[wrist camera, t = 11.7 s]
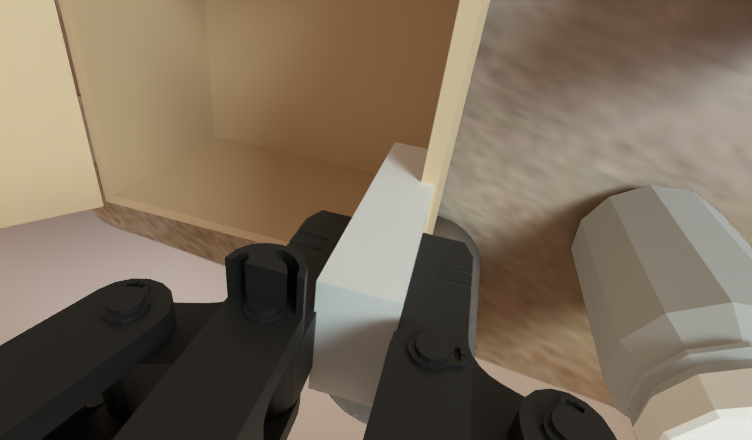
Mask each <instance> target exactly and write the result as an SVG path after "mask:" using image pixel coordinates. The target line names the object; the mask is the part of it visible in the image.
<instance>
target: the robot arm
mask: <svg viewBox="0 0 752 440" xmlns="http://www.w3.org/2000/svg"><path fill="white" fill-rule="evenodd" d="M427 152H428V149H425V148H420V147H416V146H411V145H406V144H402V143H397V142H395V143H394V145H393V146H392V148H391V150H390V152H389V153H388V155H387V157H386V159H385V160H384V162H383V164H382V166H381V168H380V169H379V171H378V173H377V175H376V176H375V178H374V180H373V182H372V183H371V185H370V187H369V189H368V191H367V192H366V194H365V196H364V198H363V199H362V201H361V203H360V205H359V206H358V208H357V210H356V212H355V213H354V215H353V217H350V216H345V215H341V214H337V213H333V212H329V211H325V210H321V211H320V212H318V213H316V214H314V215H312V216H310V217H308V218H306V220H305V221H304V222H303V224H302V225H301V226H300V228H299V229H298V230H297V233H295V234H294V236H293V237H292V238H291V240H290V241H289V244H287V245H286V246H284V245H280V244H272V243H260V244H250V245H248V246H245V247H242V248H239V249H236V250H235V251H233V252H232V253H231V254H229V255H228V256H227V257H225V265H226V278H227V291H228V298H227V299H226V300H225V301H224V302H218V303H174V302H173V298H172V293H171V290H169V289H168V288H167V287H166V286H165V285H164V284H163V283H160V282H157V281H154V280H151V279H129V280H124V281H119V282H114V283H112V284H110V285H108V286H105V287H103V288H101V289H98V290H97V291H95V292H93V293H91V294H90V295H88V296H86V297H84V298H83V299H81V300H79V301H77V302H76V303H74V304H72V305H70V306H69V307H67V308H65V309H63V310H62V311H60V312H58V313H56V314H55V315H53V316H51V317H49V318H48V319H46V320H44V321H43V322H41V323H39V324H37V325H36V326H34V327H32V328H30V329H28V330H27V331H25V332H23V333H21V334H20V335H18V336H16V337H15V338H13V339H11V340H9V341H7V342H6V343H4V344H2V345H1V346H0V440H287V437H288V435H289V433H290V430H291V428H292V426H293V424H294V421H295V419H296V417H297V414H298V409H299V404H300V393H301V391H302V388H303V386H304V384H305V382H306V380H307V378H308V375H309V388H310V389H314V390H317V391H320V392H324V393H327V394H330V395H334V396H337V397H340V398H344V399H347V400H350V401H354V402H357V403H360V404H364V405H367V406H370V407H372V409H371V413H370V416H369V420H368V423H367V427H366V431H365V434H364V438H363V440H617V439H616V437H615V435H614V434H613V432H612V431H611V429H610V428H609V427H608V425H607V423H606V422H605V420H604V419H603V418H602V416H600V415H599V414H598V413H597V412H596V411H595V410H594V409H593V408H591V407H590V406H589V405H588V404H587V403H586V402H584V401H582V400H580V399H578V398H576V397H575V396H573V395H571V394H569V393H566V392H562V391H558V390H554V389H543V390H535V391H534V392H532V393H531V394H529V395H528V396H526V397H524V396H522V395H520V394H518V393H517V392H515V391H513V390H511V389H510V388H508V387H506V386H504V385H502V384H501V383H499V382H498V381H496V380H495V379H494V378H492V377H491V376H489V375H488V374H487V373H486V372H485V371H484V370H483V369H482V368H481V367H480V366H479V365H478V363H477V361H476V360H475V359H474V357H473V355H472V353H471V350H470V348H469V341H468V332H469V316H470V301H471V285H472V270H473V256H472V254H471V253H470V251H469V249H468V247H467V245H466V243H464V242H460V241H456V240H452V239H448V238H444V237H439V236H435V235H431V234H427V233H424V229H425V224H426V220H427V216H428V211H429V207H430V203H431V198H432V194H433V190H434V185H431V184H426V183H422V182H421V180H422V176H423V171H424V166H425V162H426V157H427ZM309 373H310V374H309Z"/></svg>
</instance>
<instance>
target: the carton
mask: <svg viewBox="0 0 752 440" xmlns="http://www.w3.org/2000/svg"><path fill="white" fill-rule="evenodd" d="M58 1H59V6H60V10H61V14H62V18H63V22H64V27H65V31H66V35H67V39H68V44H69V48H70V52H71V56H72V61H73V65H74V69H75V73H76V78H77V82H78V86H79V90H80V94H81V99H82V103H83V107H84V111H85V116H86V120H87V124H88V128H89V133H90V137H91V141H92V145H93V149H94V154H95V158H96V162H97V166H98V171H99V175H100V179H101V183H102V188H103V192H104V196H105V200H106V202H109V203H113V204H117V205H120V206H124V207H128V208H132V209H135V210H139V211H143V212H147V213H150V214H154V215H158V216H161V217H165V218H169V219H173V220H176V221H180V222H184V223H188V224H191V225H195V226H199V227H202V228H206V229H210V230H214V231H217V232H221V233H225V234H229V235H232V236H236V237H240V238H244V239H247V240H251V241H255V242H258V243H272V244H280V245H284V246H286V245H287V244H289V241H290V240H291V238H292V237H293V236H294V234H295V233H297V230H298V229H299V228H300V226H301V225H302V224H303V222H304V221H305V220H306V218H308V217H310V216H312V215H314V214H316V213H318V212H320V211H321V210H325V211H329V212H333V213H337V214H341V215H345V216H350V217H353V215H354V213H355V212H356V210H357V208H358V206H359V205H360V203H361V201H362V199H363V198H364V196H365V194H366V192H367V191H368V189H369V187H370V185H371V183H372V182H373V180H374V178H375V176H376V175H377V173H378V171H379V169H380V168H381V166H382V164H383V162H384V160H385V159H386V157H387V155H388V153H389V152H390V150H391V148H392V146H393V145H394V143H395V142H397V143H402V144H406V145H411V146H416V147H420V148H425V149H428V148H429V143H430V138H431V133H432V129H433V124H434V119H435V115H436V110H437V105H438V101H439V96H440V91H441V86H442V82H443V77H444V72H445V68H446V63H447V58H448V54H449V49H450V44H451V39H452V35H453V30H454V25H455V21H456V16H457V11H458V7H459V2H460V0H58Z"/></svg>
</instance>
